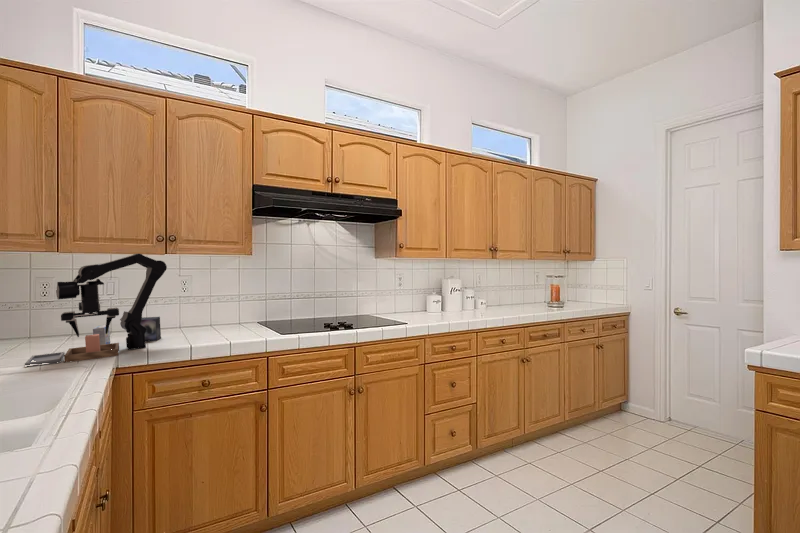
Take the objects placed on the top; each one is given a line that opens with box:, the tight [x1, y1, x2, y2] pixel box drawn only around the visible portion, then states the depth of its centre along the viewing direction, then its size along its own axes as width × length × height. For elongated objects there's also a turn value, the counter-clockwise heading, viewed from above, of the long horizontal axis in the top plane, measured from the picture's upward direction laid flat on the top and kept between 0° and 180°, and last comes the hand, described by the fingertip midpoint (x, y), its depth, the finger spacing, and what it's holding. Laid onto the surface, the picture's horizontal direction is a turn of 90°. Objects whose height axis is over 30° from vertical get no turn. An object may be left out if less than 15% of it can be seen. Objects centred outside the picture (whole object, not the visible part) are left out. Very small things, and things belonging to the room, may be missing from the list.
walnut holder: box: [63, 342, 120, 363], centre depth 173 cm, size 17×15×2 cm
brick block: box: [84, 334, 100, 353], centre depth 173 cm, size 4×4×8 cm
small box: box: [141, 316, 162, 343], centre depth 199 cm, size 11×6×10 cm, turn 101°
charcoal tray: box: [24, 351, 66, 366], centre depth 165 cm, size 10×14×2 cm
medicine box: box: [92, 324, 111, 345], centre depth 190 cm, size 8×4×9 cm, turn 22°
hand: (92, 335), depth 173 cm, fingers open, 9 cm apart
